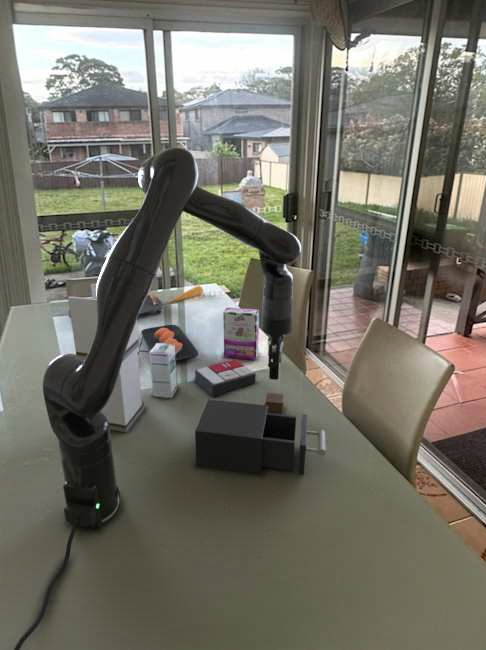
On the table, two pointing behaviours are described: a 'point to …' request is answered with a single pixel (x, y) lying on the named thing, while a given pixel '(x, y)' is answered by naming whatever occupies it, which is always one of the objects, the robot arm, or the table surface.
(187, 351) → the sushi plate
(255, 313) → the candy bar box
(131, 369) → the tall white pillar
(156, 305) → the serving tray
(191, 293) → the carrot
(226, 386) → the calculator
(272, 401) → the block
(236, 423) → the cabinet
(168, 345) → the syrup box
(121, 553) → the table surface
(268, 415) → the drawer
